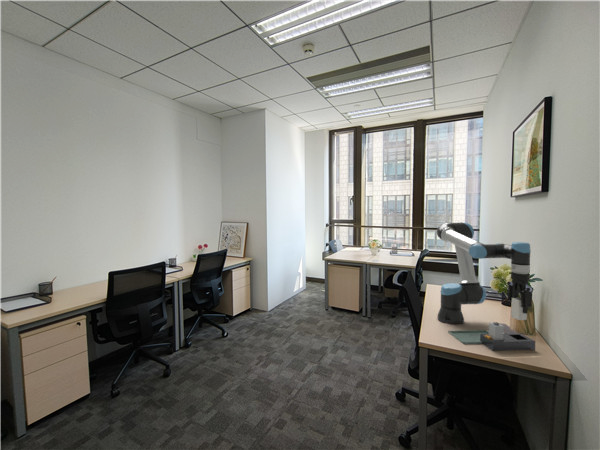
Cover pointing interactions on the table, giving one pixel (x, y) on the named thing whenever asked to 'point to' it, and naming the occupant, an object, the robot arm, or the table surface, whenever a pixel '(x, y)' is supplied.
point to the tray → (468, 336)
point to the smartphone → (507, 329)
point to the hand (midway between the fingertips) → (519, 317)
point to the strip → (508, 342)
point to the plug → (516, 308)
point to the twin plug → (496, 331)
